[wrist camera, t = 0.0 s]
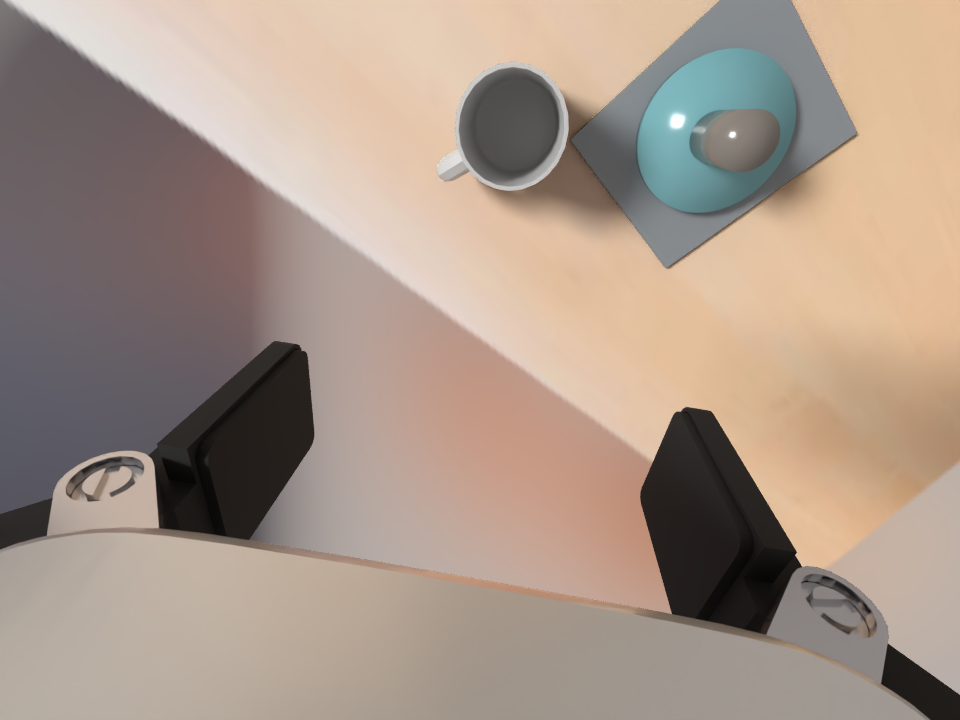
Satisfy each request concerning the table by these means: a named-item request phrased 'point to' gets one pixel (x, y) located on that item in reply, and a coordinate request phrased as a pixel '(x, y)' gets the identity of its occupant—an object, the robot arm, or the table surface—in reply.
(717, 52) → the lid
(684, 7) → the table surface
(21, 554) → the robot arm
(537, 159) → the cup
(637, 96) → the mat
